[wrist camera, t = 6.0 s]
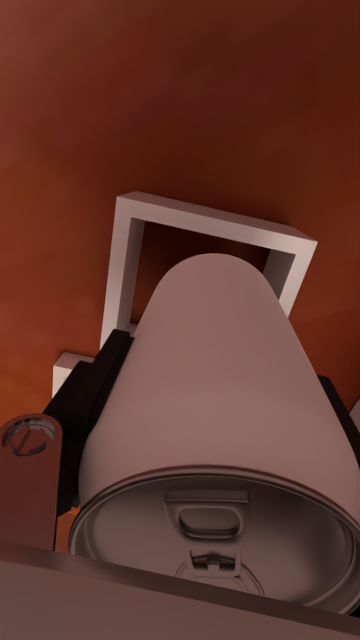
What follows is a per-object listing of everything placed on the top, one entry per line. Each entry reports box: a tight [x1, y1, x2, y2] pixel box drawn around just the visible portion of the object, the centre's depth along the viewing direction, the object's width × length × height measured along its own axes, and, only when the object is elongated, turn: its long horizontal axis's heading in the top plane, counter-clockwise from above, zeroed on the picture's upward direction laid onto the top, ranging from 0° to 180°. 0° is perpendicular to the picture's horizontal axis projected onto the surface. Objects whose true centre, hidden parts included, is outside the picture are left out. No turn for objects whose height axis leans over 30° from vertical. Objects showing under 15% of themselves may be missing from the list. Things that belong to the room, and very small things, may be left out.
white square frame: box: [100, 191, 318, 349], centre depth 19 cm, size 10×10×5 cm
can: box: [68, 253, 360, 615], centre depth 11 cm, size 6×6×12 cm
